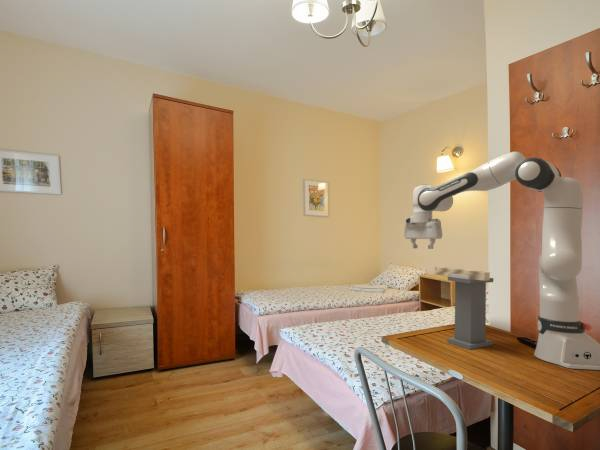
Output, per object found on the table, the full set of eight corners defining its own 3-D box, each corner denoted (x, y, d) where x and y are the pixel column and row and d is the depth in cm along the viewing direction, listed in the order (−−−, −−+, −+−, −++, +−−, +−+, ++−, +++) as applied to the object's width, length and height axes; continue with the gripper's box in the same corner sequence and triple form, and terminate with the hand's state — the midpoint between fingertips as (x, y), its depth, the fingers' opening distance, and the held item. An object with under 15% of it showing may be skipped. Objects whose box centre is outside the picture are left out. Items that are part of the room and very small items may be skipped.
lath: (434, 274, 148) (434, 266, 149) (439, 273, 150) (439, 266, 150) (484, 280, 129) (484, 272, 129) (489, 280, 130) (489, 272, 130)
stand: (447, 342, 139) (447, 273, 140) (469, 338, 146) (470, 272, 146) (469, 349, 130) (470, 276, 131) (493, 344, 137) (493, 275, 138)
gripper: (445, 218, 158) (445, 249, 157) (411, 220, 176) (411, 248, 175) (435, 218, 155) (435, 249, 155) (402, 220, 173) (402, 248, 173)
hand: (422, 248), depth 165 cm, fingers open, 8 cm apart
